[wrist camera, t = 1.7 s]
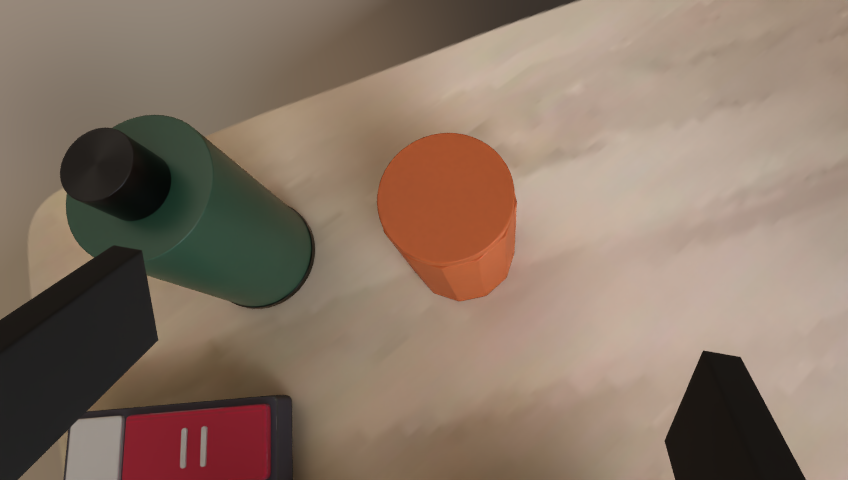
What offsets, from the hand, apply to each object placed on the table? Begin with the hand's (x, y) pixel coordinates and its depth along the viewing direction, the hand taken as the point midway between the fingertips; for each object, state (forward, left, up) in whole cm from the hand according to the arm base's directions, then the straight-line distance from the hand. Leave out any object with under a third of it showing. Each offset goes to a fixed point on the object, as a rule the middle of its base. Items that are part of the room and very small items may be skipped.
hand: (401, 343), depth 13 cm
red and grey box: (+16, +14, -26) cm, 34 cm away
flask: (+18, -3, -26) cm, 32 cm away
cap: (+3, -8, -26) cm, 28 cm away
